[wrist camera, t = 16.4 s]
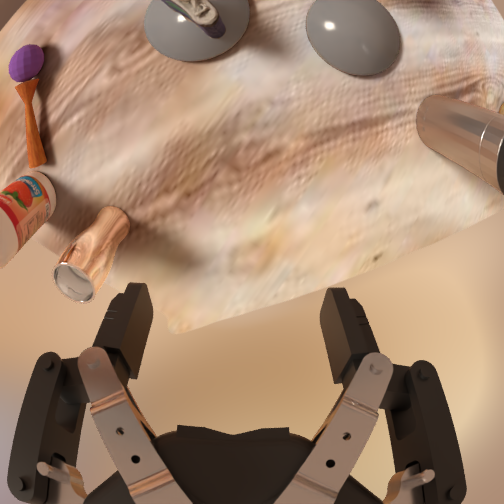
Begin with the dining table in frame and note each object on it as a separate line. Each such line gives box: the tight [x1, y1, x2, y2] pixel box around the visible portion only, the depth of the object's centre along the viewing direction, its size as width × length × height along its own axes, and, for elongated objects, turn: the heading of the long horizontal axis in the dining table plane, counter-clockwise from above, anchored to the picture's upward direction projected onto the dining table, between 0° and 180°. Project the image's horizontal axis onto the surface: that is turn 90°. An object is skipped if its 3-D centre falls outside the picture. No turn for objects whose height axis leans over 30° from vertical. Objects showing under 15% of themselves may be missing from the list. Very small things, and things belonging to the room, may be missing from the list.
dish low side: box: [144, 0, 250, 62], centre depth 23 cm, size 13×13×1 cm
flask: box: [161, 0, 226, 39], centre depth 19 cm, size 9×3×11 cm, turn 44°
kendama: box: [9, 44, 47, 168], centre depth 25 cm, size 6×6×20 cm
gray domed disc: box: [306, 0, 400, 75], centre depth 25 cm, size 13×13×1 cm
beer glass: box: [52, 206, 130, 304], centre depth 34 cm, size 7×7×15 cm
